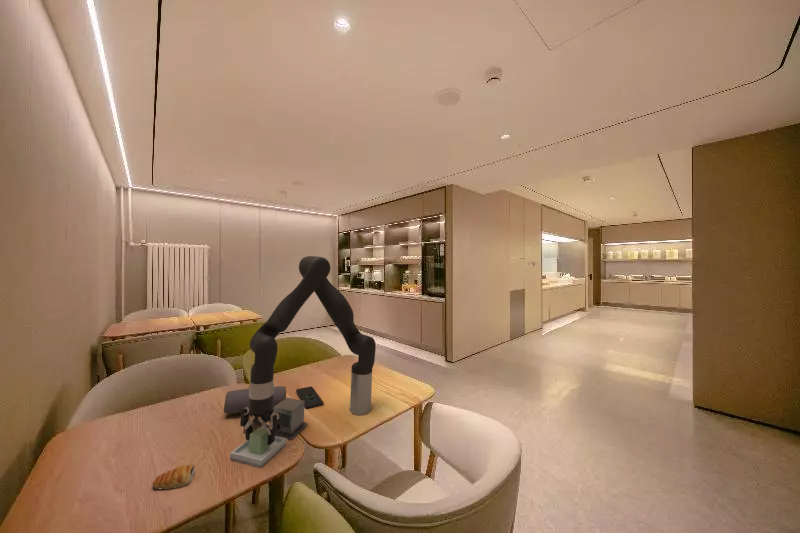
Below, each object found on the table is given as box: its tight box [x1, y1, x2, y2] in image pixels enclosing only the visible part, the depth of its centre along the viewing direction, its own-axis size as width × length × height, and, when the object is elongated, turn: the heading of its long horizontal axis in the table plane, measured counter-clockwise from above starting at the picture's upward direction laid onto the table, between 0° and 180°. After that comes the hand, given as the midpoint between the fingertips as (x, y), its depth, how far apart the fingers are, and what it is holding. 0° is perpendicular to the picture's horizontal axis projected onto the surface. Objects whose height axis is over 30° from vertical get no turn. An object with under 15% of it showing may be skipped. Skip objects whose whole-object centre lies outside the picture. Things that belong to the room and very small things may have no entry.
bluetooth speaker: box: [223, 385, 287, 414], centre depth 121 cm, size 23×9×10 cm, turn 108°
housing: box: [272, 397, 308, 441], centre depth 109 cm, size 10×10×10 cm
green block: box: [249, 427, 270, 455], centre depth 96 cm, size 4×4×6 cm
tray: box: [229, 436, 287, 469], centre depth 96 cm, size 12×12×2 cm
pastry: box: [152, 463, 196, 490], centre depth 82 cm, size 9×7×4 cm
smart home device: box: [295, 386, 324, 410], centre depth 135 cm, size 8×2×20 cm
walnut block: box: [242, 415, 263, 435], centre depth 107 cm, size 4×4×6 cm
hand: (259, 441), depth 96 cm, fingers open, 8 cm apart
